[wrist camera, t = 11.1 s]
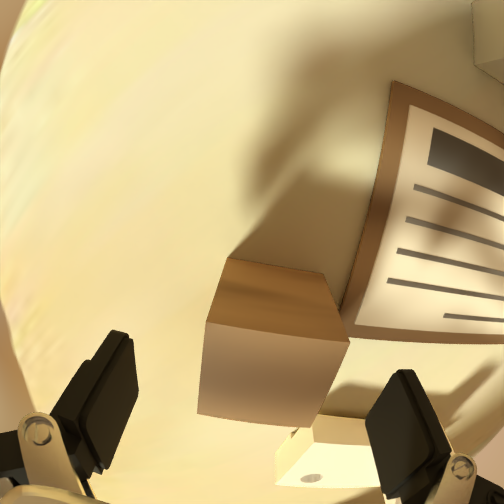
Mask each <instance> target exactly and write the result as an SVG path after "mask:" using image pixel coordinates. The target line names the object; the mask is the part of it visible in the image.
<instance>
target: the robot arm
mask: <svg viewBox="0 0 504 504" xmlns="http://www.w3.org/2000/svg"><path fill="white" fill-rule="evenodd" d="M138 392H139V388H138V381H137V373H136V364H135V354H134V343H133V339H131V338H129V335H128V334H127V333H124V332H120V331H116V330H111V331H110V333H109V334H108V335H107V337H106V338H105V340H104V341H103V343H102V344H101V346H100V347H99V349H98V350H97V352H96V353H95V355H94V356H93V358H92V359H91V360H85V361H84V362H83V363H82V365H81V366H80V368H79V369H78V371H77V372H76V374H75V375H74V377H73V378H72V380H71V381H70V383H69V384H68V386H67V387H66V389H65V390H64V392H63V394H62V395H61V397H60V398H59V400H58V402H57V403H56V405H55V406H54V408H53V410H52V411H51V413H50V415H48V414H45V413H41V412H33V413H31V414H27V415H26V416H25V417H23V418H22V420H21V421H20V422H19V425H18V430H14V431H9V432H5V433H0V499H1V500H0V504H109V503H106V502H103V501H100V500H98V499H97V497H96V495H95V493H94V491H93V489H92V487H91V484H90V482H89V480H88V479H90V477H91V475H92V472H95V473H98V474H101V475H102V472H103V470H104V469H106V470H107V469H109V467H110V465H111V462H112V459H113V457H114V454H115V452H116V449H117V447H118V444H119V442H120V439H121V436H122V434H123V431H124V429H125V427H126V424H127V422H128V419H129V417H130V414H131V412H132V409H133V407H134V405H135V402H136V400H137V397H138ZM365 427H366V430H367V434H368V438H369V442H370V445H371V449H372V453H373V457H374V461H375V465H376V469H377V473H378V477H379V482H380V486H381V490H382V493H383V494H386V499H387V500H390V499H395V498H399V497H400V499H401V503H400V504H504V489H503V488H502V487H500V486H498V485H496V484H494V483H492V482H490V481H488V480H486V479H484V478H482V477H480V476H478V475H477V466H476V463H475V461H474V460H473V459H472V458H471V457H470V456H469V455H467V454H464V453H456V454H454V455H452V456H451V455H450V453H451V452H452V449H451V447H450V444H449V442H448V440H447V438H446V435H445V433H444V431H443V429H442V426H441V424H440V422H439V420H438V418H437V416H436V414H435V411H434V409H433V407H432V405H431V403H430V401H429V399H428V397H427V395H426V393H425V391H424V389H423V387H422V385H421V383H420V381H419V379H418V377H417V375H416V373H415V372H414V370H412V369H399V370H397V372H396V373H394V374H393V375H392V376H391V378H390V379H389V381H388V383H387V385H386V386H385V388H384V390H383V391H382V393H381V395H380V396H379V398H378V399H377V401H376V403H375V404H374V406H373V407H372V409H371V410H370V412H369V413H368V415H367V416H366V419H365Z"/></svg>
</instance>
